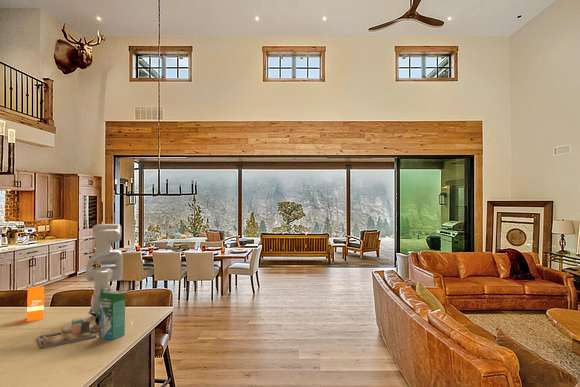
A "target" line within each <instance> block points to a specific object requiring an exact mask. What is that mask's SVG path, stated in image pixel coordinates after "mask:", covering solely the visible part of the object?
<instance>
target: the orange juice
mask: <svg viewBox="0 0 580 387" xmlns="http://www.w3.org/2000/svg"><path fill="white" fill-rule="evenodd" d="M26 302H27V304H26V305H27V306H26V322H32V321H38V320H39V321H40V320H44V316H45V315H44V313H45V312H44V311H45V286H44V285H43V286H42V285H41V286H35V287H34V286H33V287H27V300H26Z"/></svg>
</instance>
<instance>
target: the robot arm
mask: <svg viewBox="0 0 580 387" xmlns="http://www.w3.org/2000/svg"><path fill="white" fill-rule="evenodd" d="M122 232H123V231H122V225H121V224H120V223H99V224H95V225H93V226H92V235H93V237H94V241H95V249H94V250H95V252H94V254H93V255H91V257H89V259H88V261H87V262H86V266H85V268H86V269H85V280H86V281H87V282H93V294H91V295H92V296H91V300H90V309H89V311H88V312H87V314H88V315H90V316H91V318H93V319H94V324H98V322H99V318H98V315H100V292H106V293H111V292H112V288H111V285H110V284H109V282H115V281H121V280H122V279H123V276H124V255H123V251H122V250H118V249H113V250H112V243H119V242H120V241H121V240H122ZM94 263H97V265H99V266H100V267H97V268H92V266H93V264H94ZM107 265H108V266H107ZM109 265H110V266H109ZM111 265H112V266H111ZM113 265H115V266H113Z"/></svg>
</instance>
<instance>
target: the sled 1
mask: <svg viewBox="0 0 580 387" xmlns="http://www.w3.org/2000/svg"><path fill="white" fill-rule="evenodd" d="M89 325H91V324H90V321H89V320H85V321H84V320H83V322H82V331H81V334H79V335H72V333H69V334H63V335H55V336H50V337H46V336H45V335H46V334H42V335H43V338H42V340H43V343H42V345H47V344H52V343H57V342H62V341H68V340H73V339H78V338H83V337H88V336H91V334H90V332H89Z"/></svg>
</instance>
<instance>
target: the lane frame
mask: <svg viewBox="0 0 580 387" xmlns="http://www.w3.org/2000/svg"><path fill="white" fill-rule="evenodd" d="M89 332H90V336H88V337H83V338H78V339H73V340H68V341H62V342H57V343H52V344H47V345H43V335H45V336H46V338H47V337H53V336H58V335H61V331H58V332H53V333H49V334H42V335H38V336H36V339H37V342H38V345H39V348H40V349H41V350H42V349H45V348H46V349H47V348H51V347H56V346H60V345H66V344H70V343H74V342H76V343H77V342H80V341H85V340H90V339H96V338H97V337H98V336H97V334H94V332H93V331H89ZM91 334H93V335H91ZM41 339H42V340H41Z"/></svg>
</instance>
